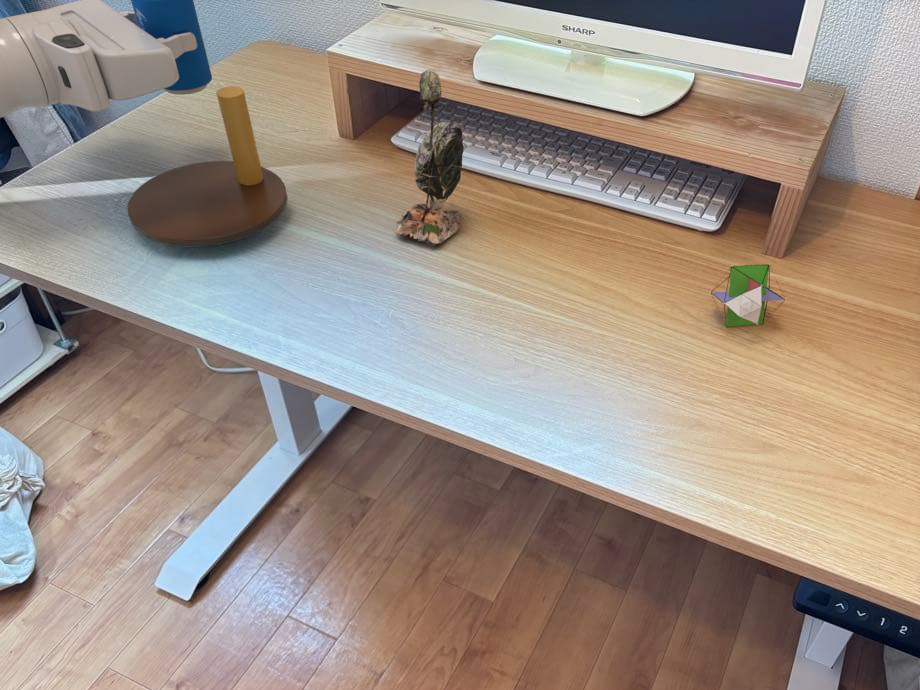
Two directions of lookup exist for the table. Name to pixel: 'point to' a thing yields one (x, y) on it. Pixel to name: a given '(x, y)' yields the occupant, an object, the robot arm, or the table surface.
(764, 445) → the table surface
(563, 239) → the table surface
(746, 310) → the geometric puzzle
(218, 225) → the tray
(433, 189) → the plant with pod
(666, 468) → the table surface
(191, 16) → the beverage can
